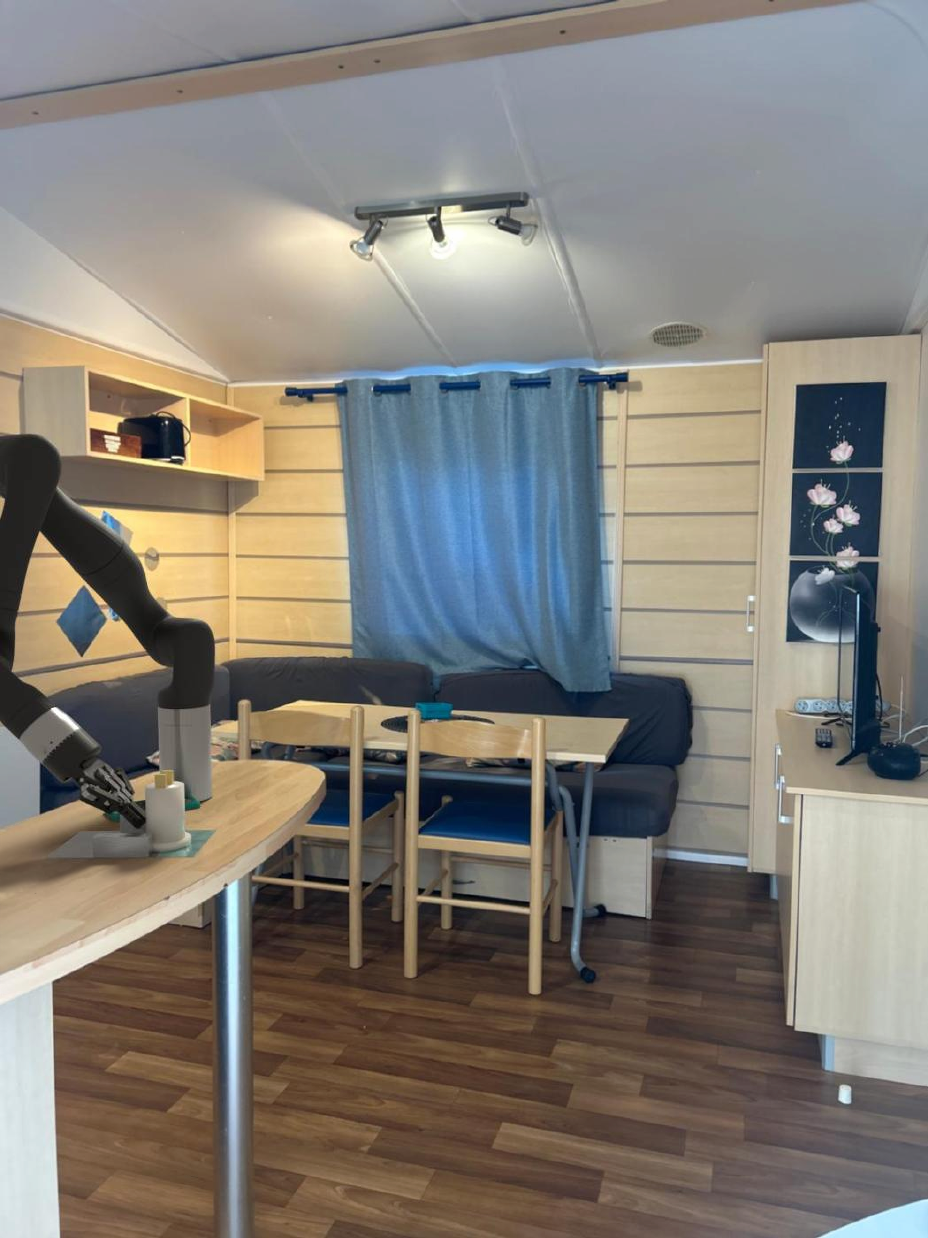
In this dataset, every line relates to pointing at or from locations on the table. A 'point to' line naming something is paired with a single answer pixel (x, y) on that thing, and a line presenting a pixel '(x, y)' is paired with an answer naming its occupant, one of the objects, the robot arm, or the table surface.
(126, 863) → the table surface
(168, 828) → the plug
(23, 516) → the robot arm
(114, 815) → the digital multimeter
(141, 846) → the housing
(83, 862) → the table surface
